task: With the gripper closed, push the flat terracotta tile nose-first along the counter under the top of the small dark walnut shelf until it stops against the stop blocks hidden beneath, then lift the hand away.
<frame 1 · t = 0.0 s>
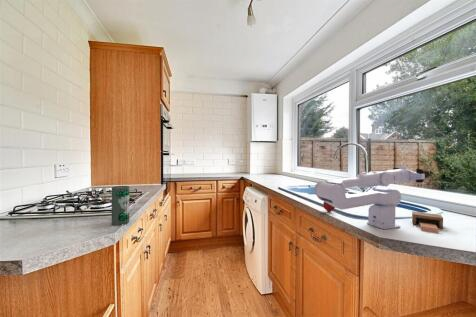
hand: (418, 173, 96), 22 cm above the countertop, tool horizontal, fingers open, 7 cm apart
onion: (329, 212, 112), on the countertop
can: (120, 223, 90), on the countertop
tile: (428, 230, 87), on the countertop
shelf: (426, 224, 93), on the countertop
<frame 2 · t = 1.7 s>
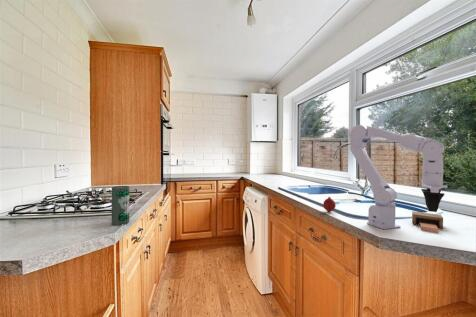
hand: (431, 209, 80), 9 cm above the countertop, tool pointing down, fingers open, 6 cm apart
nothing on the countertop moved.
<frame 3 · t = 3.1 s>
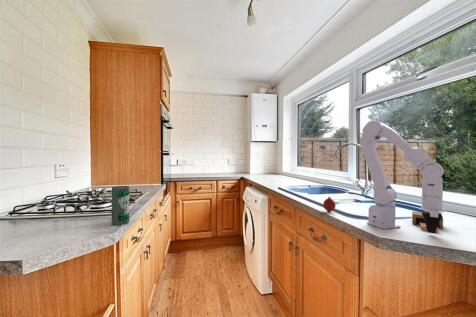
hand: (431, 232, 80), 1 cm above the countertop, tool pointing down, fingers closed
nothing on the countertop moved.
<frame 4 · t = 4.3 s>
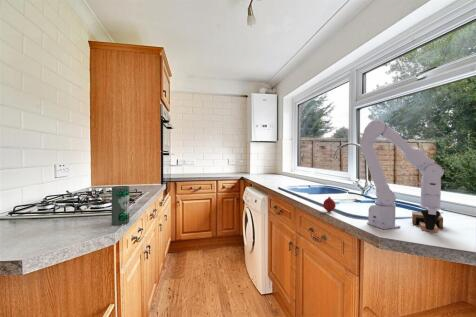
hand: (429, 229, 84), 1 cm above the countertop, tool pointing down, fingers closed
tile: (428, 229, 87), on the countertop, touching gripper
everything else where it was.
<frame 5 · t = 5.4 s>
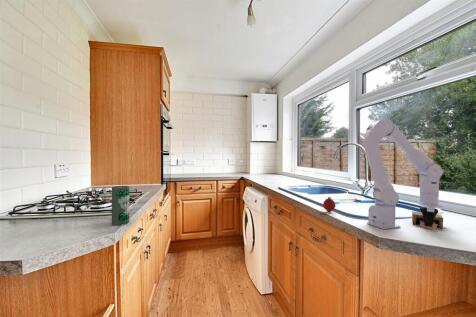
hand: (428, 226, 88), 1 cm above the countertop, tool pointing down, fingers closed
tile: (427, 226, 91), on the countertop, touching gripper, shelf
everything else where it was.
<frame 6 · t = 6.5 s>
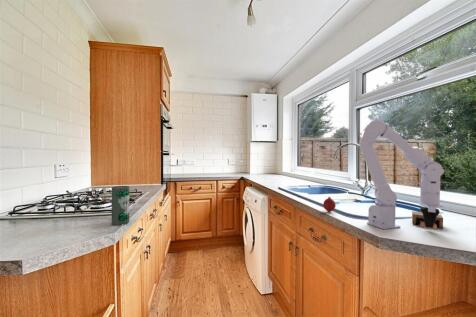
hand: (428, 227, 85), 1 cm above the countertop, tool pointing down, fingers closed
tile: (427, 227, 91), on the countertop
everything else where it was.
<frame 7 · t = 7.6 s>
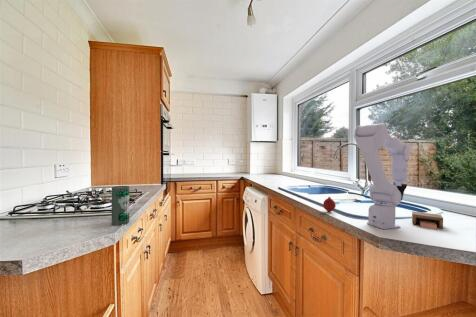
hand: (398, 200, 98), 9 cm above the countertop, tool pointing down, fingers closed
nothing on the countertop moved.
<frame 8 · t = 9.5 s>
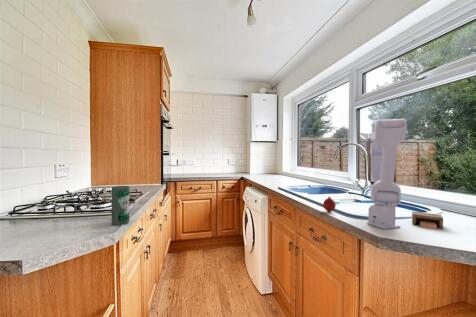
hand: (377, 195, 108), 9 cm above the countertop, tool pointing down, fingers closed
nothing on the countertop moved.
at the end: tile 0.1 cm from the target spot on the shelf, point 0.0 cm above the shelf's base; tile tilted 0° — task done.
